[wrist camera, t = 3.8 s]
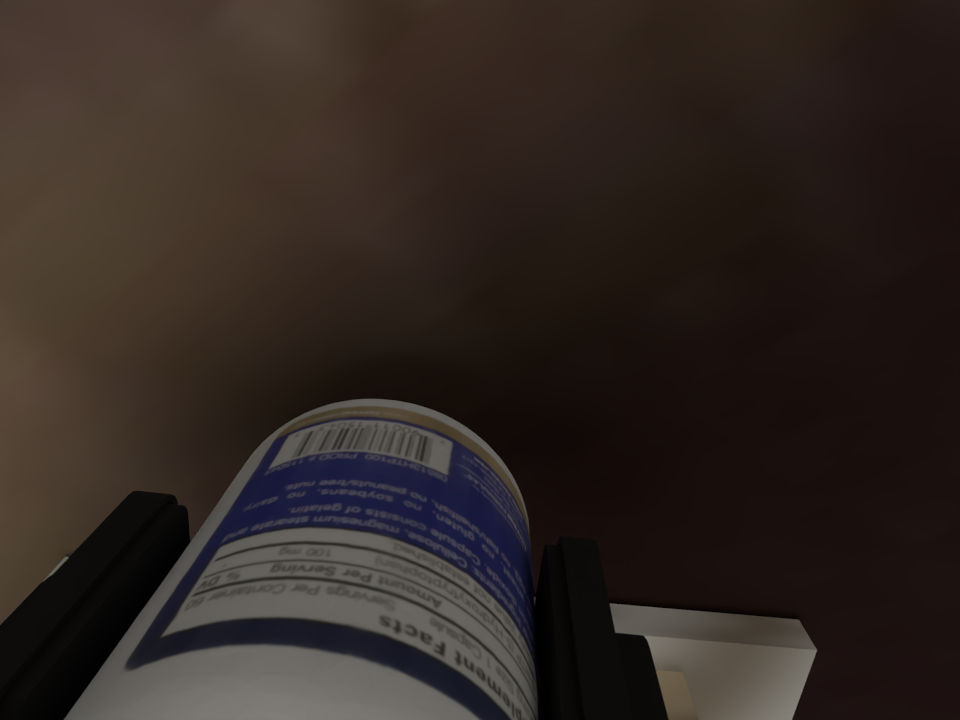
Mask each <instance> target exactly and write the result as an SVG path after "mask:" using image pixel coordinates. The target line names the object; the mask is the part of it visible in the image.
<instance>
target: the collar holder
mask: <svg viewBox="0 0 960 720" xmlns="http://www.w3.org/2000/svg"><path fill="white" fill-rule="evenodd" d="M68 558H69V557H65V558H64V559H63V560H62V561H61V562H60V563H59V564H58V565H57V566H56V567H55V569H54V570H53V571H52V572H51V573H50V574H49V575H48V576H47V577H46V578H45V579H47V578H48V577H49V576H51V575H53V574H54V573H55V572H56V571H57V570H58V568H59V567H60V566H61V565H62V564H63V563H64V562H65V561H66V560H67V559H68ZM535 600H536V597H534V606H535ZM609 604H610V608H611V613H612V618H613V623H614V628H615V633H624V634H634V635H643V636H644V637H645V638H646V639H647V641H648V644H649V647H650V650H651V654H652V658H653V661H654V665H655V669H656V673H657V677H658V681H659V684H660V688H661V692H662V696H663V700H664V703H665V707H666V711H667V715H668V719H669V720H792V718H793V715H794V712H795V710H796V707H797V704H798V701H799V699H800V696H801V693H802V690H803V688H804V685H805V682H806V679H807V677H808V674H809V671H810V668H811V666H812V663H813V660H814V657H815V655H816V652H817V649H816V648H815V646H814V644H813V643H812V641H811V639H810V638H809V636H808V634H807V633H806V631H805V629H804V628H803V626H802V624H801V623H800V621H799V620H797V619H785V618H774V617H762V616H750V615H739V614H727V613H716V612H704V611H692V610H681V609H669V608H657V607H646V606H634V605H623V604H611V603H609Z"/></svg>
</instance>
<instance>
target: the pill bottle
mask: <svg viewBox="0 0 960 720" xmlns="http://www.w3.org/2000/svg"><path fill="white" fill-rule="evenodd" d="M540 694H541V692H540V677H539V667H538V655H537V641H536V626H535V606H534V589H533V574H532V561H531V542H530V535H529V523H528V517H527V512H526V508H525V504H524V501H523V498H522V495H521V493H520V490H519V488H518V486H517V484H516V482H515V480H514V478H513V476H512V474H511V473H510V471H509V469H508V468H507V467H506V465H505V464H504V462H503V461H502V460H501V458H500V457H499V456H498V455H497V454H496V453H495V451H494V450H493V449H492V448H491V447H490V446H489V445H488V444H487V443H486V442H485V441H483V440H482V439H481V438H480V437H479V436H478V435H476V434H475V433H474V432H472V431H471V430H470V429H468V428H467V427H465V426H464V425H462V424H461V423H459V422H457V421H456V420H454V419H452V418H450V417H448V416H446V415H444V414H441V413H439V412H437V411H435V410H432V409H429V408H426V407H423V406H419V405H415V404H412V403H407V402H401V401H396V400H385V399H356V400H348V401H343V402H337V403H332V404H329V405H325V406H322V407H319V408H316V409H314V410H311V411H309V412H307V413H304V414H302V415H300V416H298V417H296V418H295V419H293V420H291V421H289V422H288V423H286V424H285V425H283V426H282V427H280V428H279V429H278V430H276V431H275V432H274V433H273V434H271V435H270V436H269V437H268V438H267V439H266V440H264V441H263V442H262V443H261V444H260V446H259V447H258V448H257V449H256V450H255V451H254V452H253V454H252V455H251V456H250V458H249V459H248V460H247V462H246V463H245V464H244V466H243V467H242V469H241V470H240V472H239V473H238V475H237V476H236V477H235V479H234V480H233V482H232V483H231V484H230V486H229V487H228V489H227V490H226V492H225V493H224V495H223V496H222V498H221V499H220V501H219V502H218V504H217V505H216V506H215V508H214V509H213V511H212V512H211V514H210V515H209V516H208V518H207V519H206V521H205V522H204V524H203V525H202V527H201V528H200V529H199V531H198V532H197V534H196V535H195V536H194V538H193V539H192V541H191V542H190V544H189V545H188V546H187V548H186V549H185V551H184V552H183V554H182V555H181V556H180V558H179V559H178V561H177V562H176V563H175V565H174V566H173V568H172V569H171V570H170V572H169V573H168V575H167V576H166V578H165V579H164V580H163V582H162V583H161V585H160V586H159V587H158V589H157V590H156V592H155V593H154V594H153V596H152V597H151V599H150V600H149V601H148V603H147V604H146V606H145V607H144V608H143V610H142V611H141V612H140V614H139V615H138V616H137V618H136V619H135V621H134V622H133V624H132V625H131V626H130V628H129V629H128V631H127V632H126V634H125V635H124V636H123V638H122V639H121V640H120V642H119V643H118V645H117V646H116V647H115V649H114V650H113V652H112V653H111V654H110V656H109V657H108V659H107V660H106V662H105V663H104V664H103V666H102V667H101V669H100V670H99V671H98V673H97V674H96V676H95V677H94V678H93V680H92V681H91V683H90V684H89V685H88V687H87V688H86V689H85V691H84V692H83V694H82V695H81V696H80V698H79V699H78V701H77V702H76V703H75V705H74V706H73V707H72V709H71V710H70V712H69V713H68V714H67V716H66V717H65V719H64V720H542V714H541V698H540Z"/></svg>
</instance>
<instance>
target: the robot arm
mask: <svg viewBox="0 0 960 720" xmlns="http://www.w3.org/2000/svg"><path fill="white" fill-rule="evenodd" d="M189 544H190V536H189V521H188V511H187V508H186V507H185V506H183V505H178V502H177V499H176V497H175V496H173V495H171V494H162V493H152V492H143V491H134V492H132V493H131V494H129V495H128V496H127V497H126V498H125V499H124V500H123V501H122V502H121V504H120V505H119V506H118V507H117V508H116V509H115V510H114V511H113V512H112V513H111V514H110V515H109V516H108V517H107V518H106V519H105V520H104V521H103V522H102V523H101V524H100V526H99V527H98V528H97V529H96V530H95V531H94V532H93V533H92V534H91V535H90V536H89V537H88V538H87V539H86V540H85V541H84V542H83V543H82V544H81V545H80V546H79V548H78V549H77V550H76V551H75V552H74V553H73V554H72V555H71V556H70V557H69V558H68V559H67V560H66V561H65V562H64V563H63V564H62V565H61V566H60V567H59V568H58V570H57V571H56V572H55V573H54V574H53V575H51V576H49V577H48V578H47V579H45V580H44V581H43V582H42V583H41V584H40V585H39V586H38V587H37V588H36V589H35V590H34V591H33V592H32V593H31V594H30V595H29V596H28V597H27V598H26V599H25V600H24V601H23V602H22V603H21V604H20V605H19V606H18V607H17V609H16V610H15V611H14V612H13V613H12V614H11V615H10V616H9V617H8V618H7V619H6V620H5V621H4V622H3V623H2V624H1V625H0V720H64V719H65V717H66V716H67V714H68V713H69V712H70V710H71V709H72V707H73V706H74V705H75V703H76V702H77V701H78V699H79V698H80V696H81V695H82V694H83V692H84V691H85V689H86V688H87V687H88V685H89V684H90V683H91V681H92V680H93V678H94V677H95V676H96V674H97V673H98V671H99V670H100V669H101V667H102V666H103V664H104V663H105V662H106V660H107V659H108V657H109V656H110V654H111V653H112V652H113V650H114V649H115V647H116V646H117V645H118V643H119V642H120V640H121V639H122V638H123V636H124V635H125V634H126V632H127V631H128V629H129V628H130V626H131V625H132V624H133V622H134V621H135V619H136V618H137V616H138V615H139V614H140V612H141V611H142V610H143V608H144V607H145V606H146V604H147V603H148V601H149V600H150V599H151V597H152V596H153V594H154V593H155V592H156V590H157V589H158V587H159V586H160V585H161V583H162V582H163V580H164V579H165V578H166V576H167V575H168V573H169V572H170V570H171V569H172V568H173V566H174V565H175V563H176V562H177V561H178V559H179V558H180V556H181V555H182V554H183V552H184V551H185V549H186V548H187V546H188V545H189ZM535 626H536V641H537V655H538V667H539V677H540V692H541V694H540V698H541V714H542V720H669V719H668V715H667V711H666V707H665V703H664V700H663V696H662V692H661V688H660V684H659V681H658V677H657V673H656V669H655V665H654V661H653V658H652V654H651V650H650V647H649V644H648V641H647V639H646V638H645V637H644V636H643V635H634V634H624V633H615V628H614V623H613V618H612V613H611V608H610V604H609V599H608V594H607V589H606V584H605V579H604V574H603V569H602V565H601V560H600V555H599V550H598V545H597V542H596V541H595V540H589V539H580V538H571V537H562V536H560V537H559V539H558V543H557V546H555V545H545V547H544V552H543V557H542V563H541V570H540V576H539V582H538V588H537V594H536V600H535Z"/></svg>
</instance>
